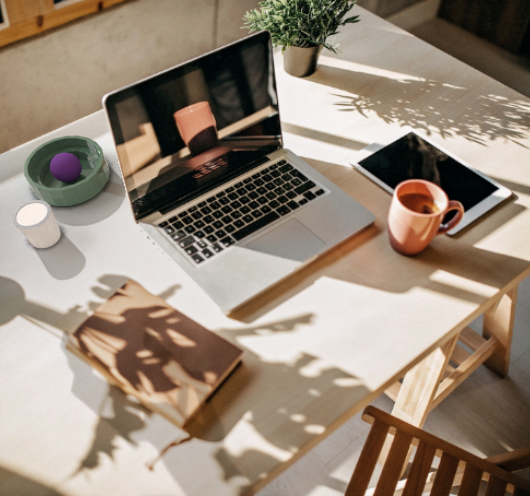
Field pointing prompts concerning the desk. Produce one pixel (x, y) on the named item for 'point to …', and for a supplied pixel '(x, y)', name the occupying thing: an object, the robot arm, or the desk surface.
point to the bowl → (67, 192)
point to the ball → (65, 167)
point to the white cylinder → (37, 223)
